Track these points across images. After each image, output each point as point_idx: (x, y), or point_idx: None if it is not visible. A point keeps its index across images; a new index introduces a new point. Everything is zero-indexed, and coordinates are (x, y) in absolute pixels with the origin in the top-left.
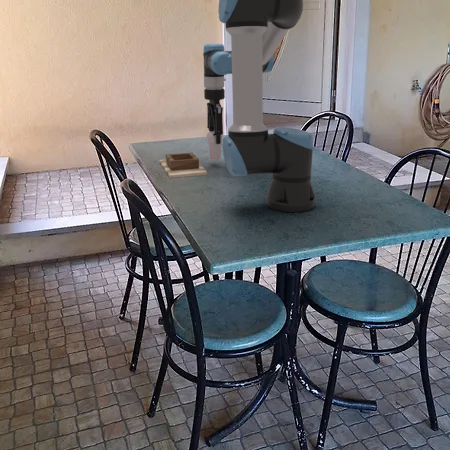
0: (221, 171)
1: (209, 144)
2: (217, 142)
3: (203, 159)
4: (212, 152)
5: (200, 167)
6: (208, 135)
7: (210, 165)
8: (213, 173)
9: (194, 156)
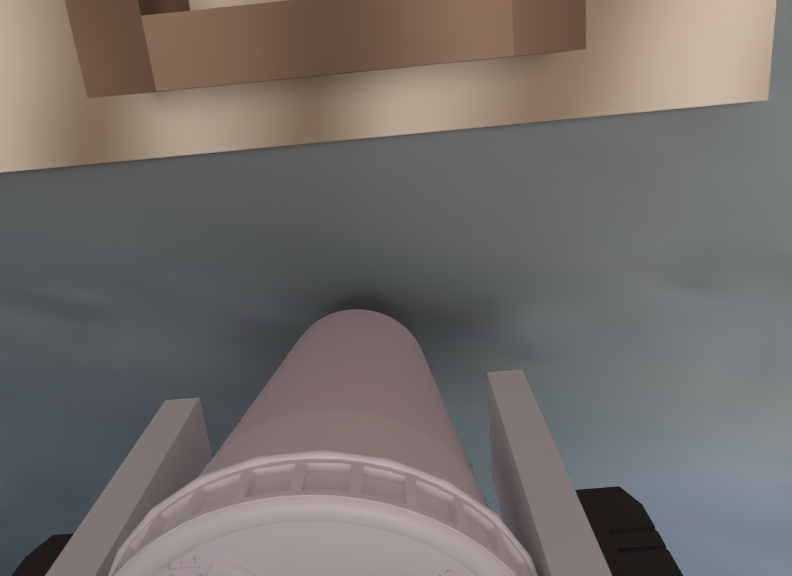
0: (125, 356)
1: (285, 396)
2: (27, 572)
3: (721, 235)
4: (276, 372)
5: (195, 119)
6: (214, 508)
7: (406, 277)
8: (45, 254)
9: (294, 45)
